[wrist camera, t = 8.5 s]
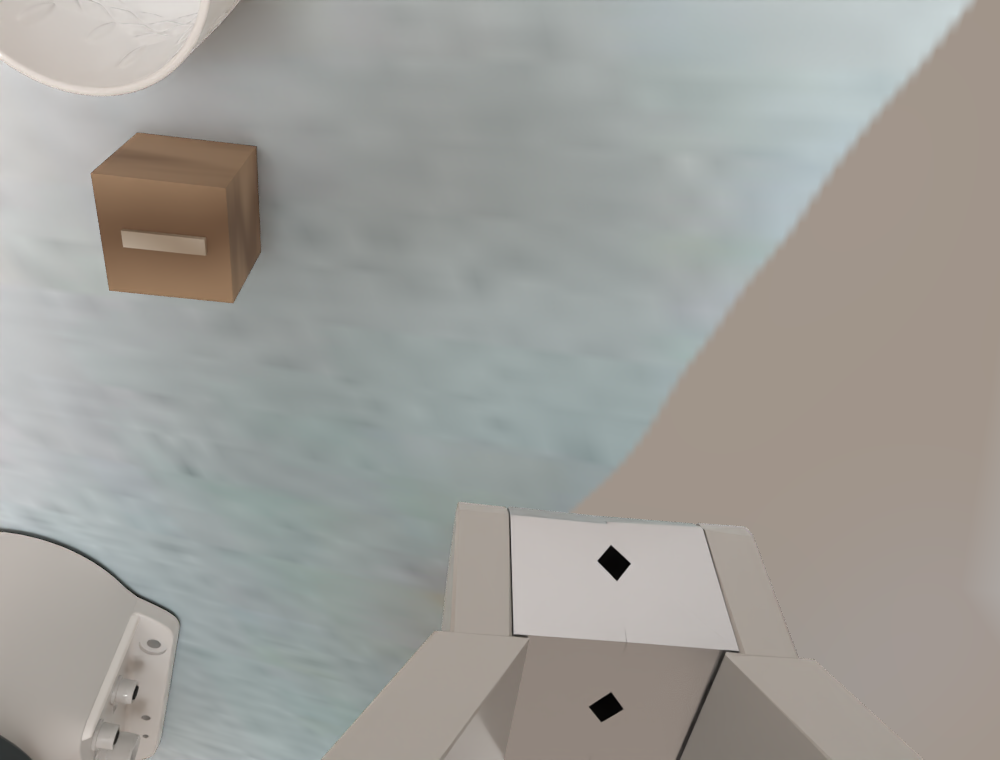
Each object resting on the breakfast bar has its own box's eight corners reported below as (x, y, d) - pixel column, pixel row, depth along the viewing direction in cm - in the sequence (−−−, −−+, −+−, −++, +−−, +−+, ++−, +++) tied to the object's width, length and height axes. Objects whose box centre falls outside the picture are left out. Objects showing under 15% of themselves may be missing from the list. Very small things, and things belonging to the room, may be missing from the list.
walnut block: (261, 251, 39) (231, 305, 34) (151, 239, 38) (107, 292, 34) (256, 145, 36) (224, 190, 32) (137, 131, 35) (88, 174, 31)
